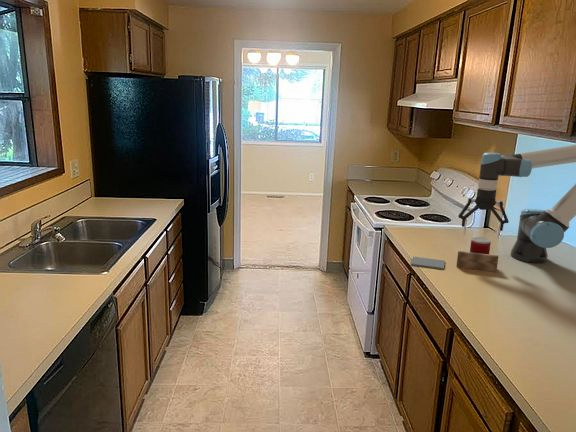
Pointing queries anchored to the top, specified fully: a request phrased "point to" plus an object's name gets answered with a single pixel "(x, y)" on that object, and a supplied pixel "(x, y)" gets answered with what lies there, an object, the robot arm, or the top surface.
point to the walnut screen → (477, 261)
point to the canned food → (480, 245)
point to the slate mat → (428, 263)
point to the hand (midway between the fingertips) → (480, 235)
